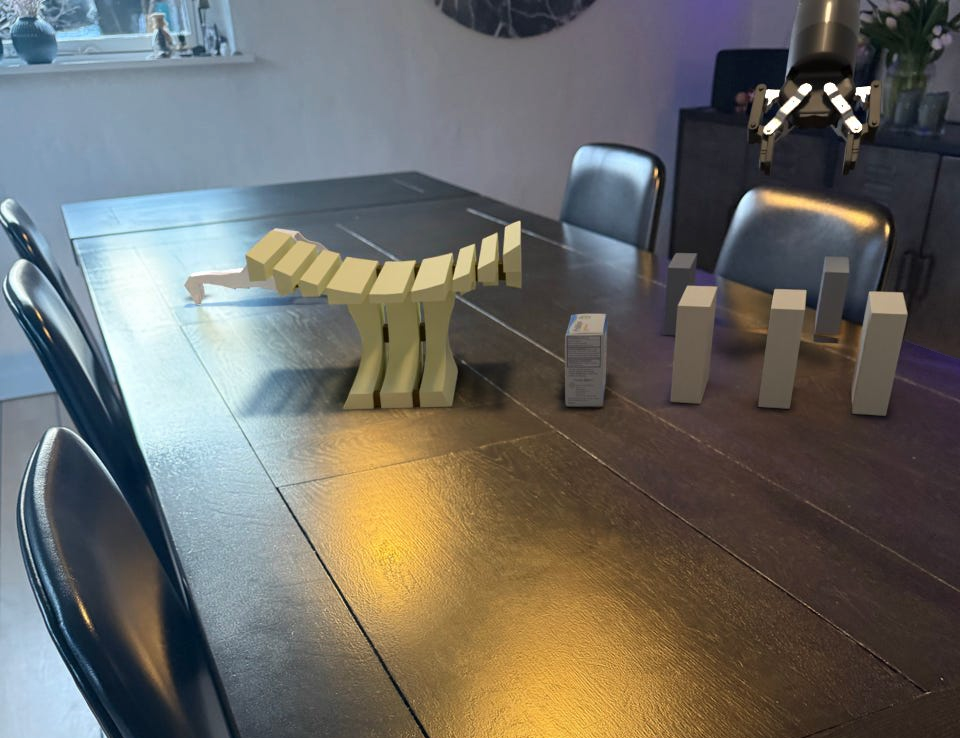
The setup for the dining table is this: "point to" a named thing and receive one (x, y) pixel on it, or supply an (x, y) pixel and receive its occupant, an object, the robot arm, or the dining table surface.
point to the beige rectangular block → (782, 348)
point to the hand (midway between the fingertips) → (806, 170)
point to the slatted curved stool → (392, 309)
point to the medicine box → (585, 360)
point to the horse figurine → (236, 274)
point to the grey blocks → (827, 307)
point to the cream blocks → (871, 364)
